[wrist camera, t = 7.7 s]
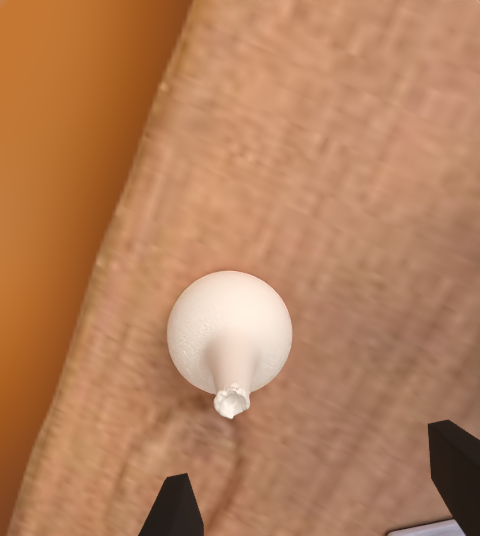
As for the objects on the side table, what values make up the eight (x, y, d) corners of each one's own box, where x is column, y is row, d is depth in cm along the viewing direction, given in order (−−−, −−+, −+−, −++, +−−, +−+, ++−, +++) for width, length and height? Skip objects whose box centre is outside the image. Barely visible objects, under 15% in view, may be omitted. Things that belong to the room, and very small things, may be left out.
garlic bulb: (188, 378, 20) (164, 512, 12) (158, 278, 18) (107, 357, 10) (294, 356, 19) (339, 475, 12) (274, 253, 18) (311, 313, 10)
